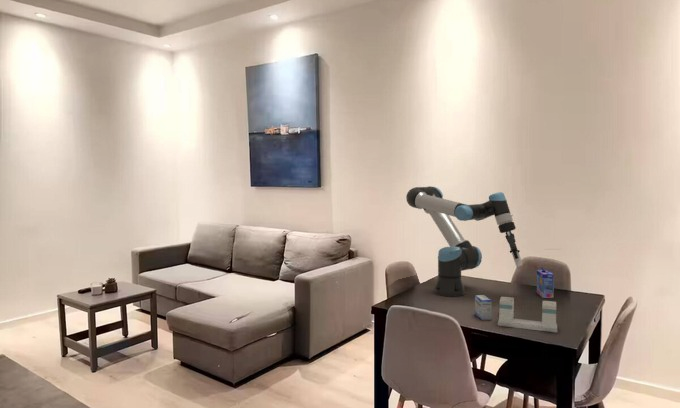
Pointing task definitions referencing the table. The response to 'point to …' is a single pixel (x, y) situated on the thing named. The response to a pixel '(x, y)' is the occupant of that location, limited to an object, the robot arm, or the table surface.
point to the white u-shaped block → (508, 320)
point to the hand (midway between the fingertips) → (519, 265)
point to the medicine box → (483, 307)
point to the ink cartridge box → (545, 283)
